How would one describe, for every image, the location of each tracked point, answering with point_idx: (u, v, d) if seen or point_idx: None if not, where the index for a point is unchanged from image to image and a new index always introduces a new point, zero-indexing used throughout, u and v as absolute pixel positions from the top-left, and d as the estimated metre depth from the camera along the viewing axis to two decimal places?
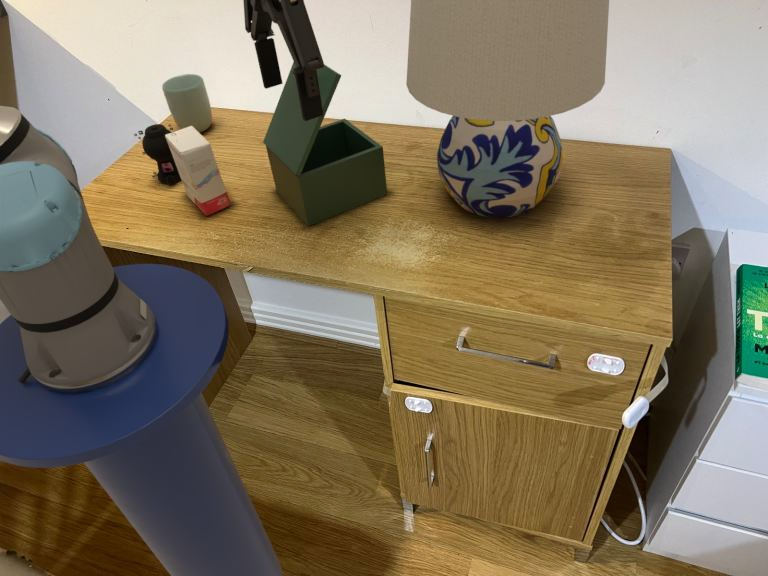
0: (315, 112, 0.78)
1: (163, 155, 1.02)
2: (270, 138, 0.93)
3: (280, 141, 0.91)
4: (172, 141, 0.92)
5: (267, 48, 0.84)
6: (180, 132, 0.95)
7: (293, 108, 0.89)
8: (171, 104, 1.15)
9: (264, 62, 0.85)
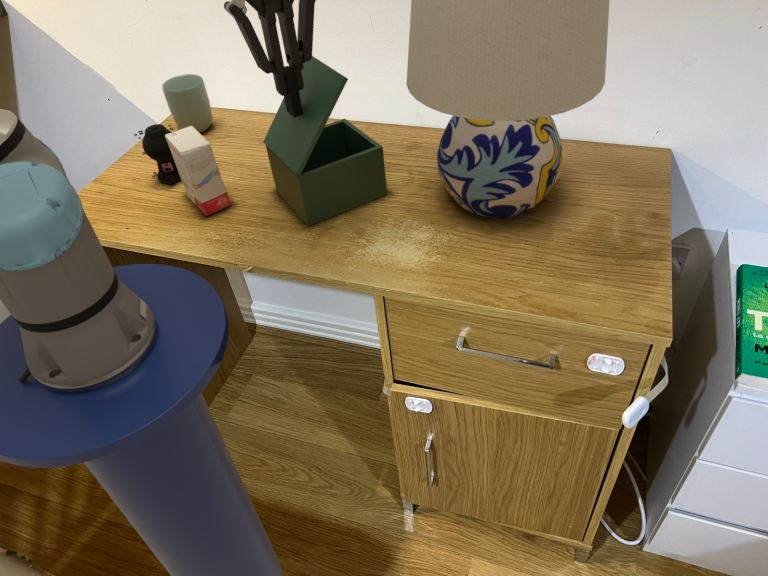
0: None
1: (163, 155, 1.02)
2: (271, 138, 0.93)
3: (281, 141, 0.91)
4: (172, 141, 0.92)
5: None
6: (180, 132, 0.95)
7: None
8: (171, 104, 1.15)
9: None
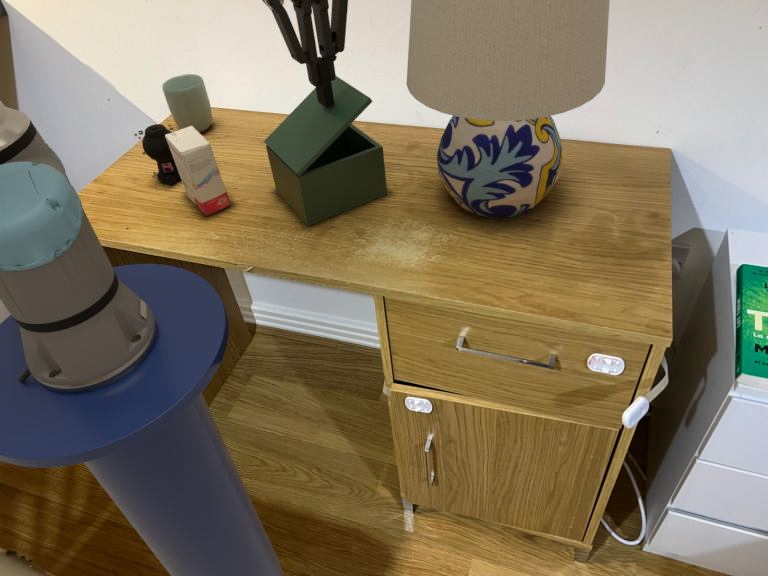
0: None
1: (163, 155, 1.02)
2: (274, 139, 0.93)
3: (285, 143, 0.91)
4: (172, 141, 0.92)
5: None
6: (180, 132, 0.95)
7: (310, 118, 0.91)
8: (171, 104, 1.15)
9: None
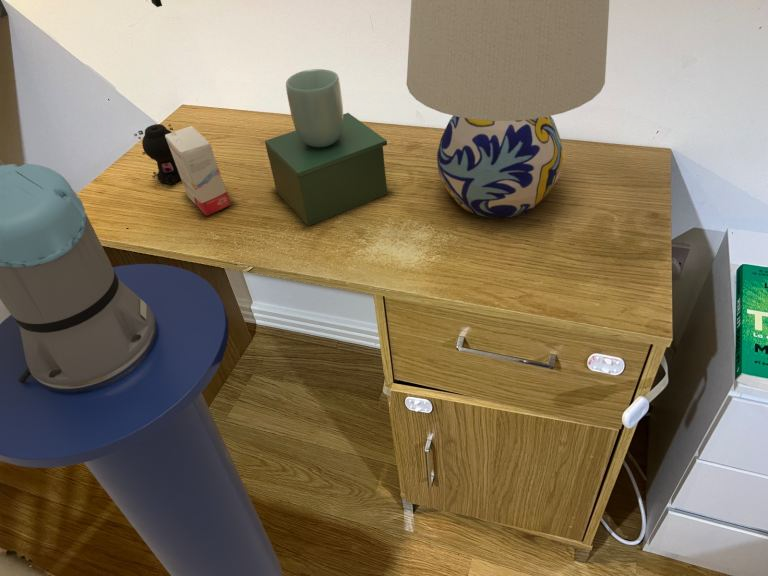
0: None
1: (163, 155, 1.02)
2: (277, 142, 0.94)
3: (289, 148, 0.92)
4: (172, 141, 0.92)
5: None
6: (180, 132, 0.95)
7: None
8: (298, 109, 0.86)
9: None
